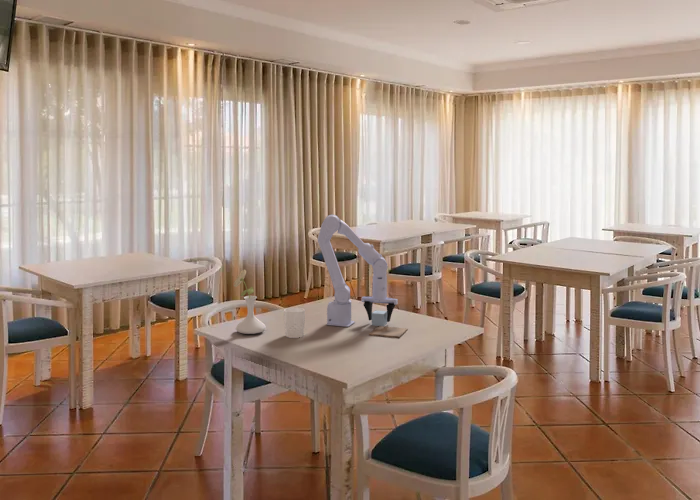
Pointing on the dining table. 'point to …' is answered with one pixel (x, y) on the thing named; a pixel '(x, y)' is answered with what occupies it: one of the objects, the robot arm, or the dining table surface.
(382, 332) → the walnut board
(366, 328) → the dining table surface
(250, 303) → the flower in vase
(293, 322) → the white cup
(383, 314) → the blue cube
